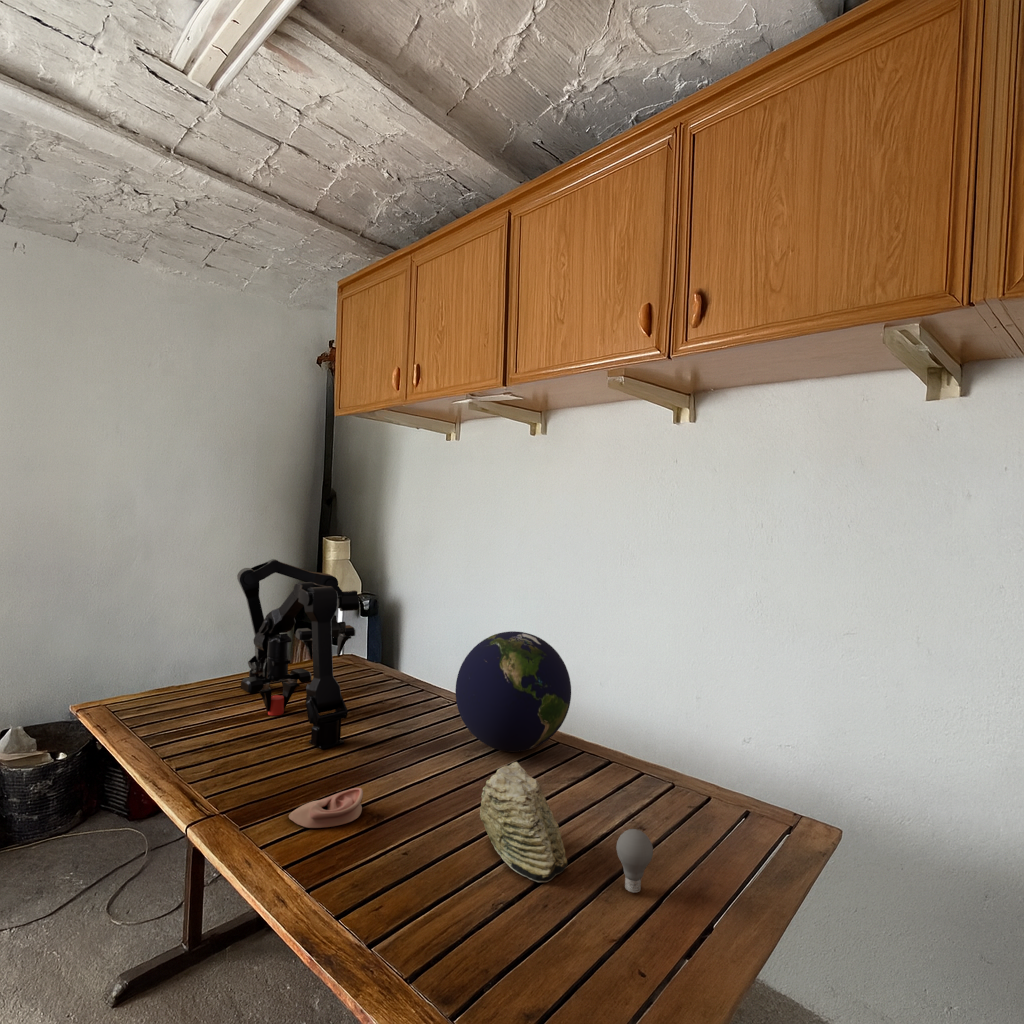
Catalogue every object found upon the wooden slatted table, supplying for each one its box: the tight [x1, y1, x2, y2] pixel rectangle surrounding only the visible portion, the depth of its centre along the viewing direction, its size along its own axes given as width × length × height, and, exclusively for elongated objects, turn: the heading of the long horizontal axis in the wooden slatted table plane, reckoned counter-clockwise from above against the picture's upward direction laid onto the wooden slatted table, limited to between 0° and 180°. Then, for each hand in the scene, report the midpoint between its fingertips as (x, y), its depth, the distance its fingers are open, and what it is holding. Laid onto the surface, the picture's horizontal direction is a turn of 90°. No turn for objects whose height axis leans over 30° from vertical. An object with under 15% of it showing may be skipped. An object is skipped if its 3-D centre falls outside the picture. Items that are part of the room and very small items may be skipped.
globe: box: [454, 630, 572, 753], centre depth 164 cm, size 30×30×30 cm
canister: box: [267, 694, 285, 717], centre depth 182 cm, size 4×4×4 cm
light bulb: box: [615, 828, 654, 894], centre depth 106 cm, size 6×6×10 cm
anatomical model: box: [288, 787, 364, 829], centre depth 126 cm, size 13×4×12 cm
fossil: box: [479, 761, 569, 883], centre depth 114 cm, size 9×18×15 cm, turn 46°
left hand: (325, 657), depth 214 cm, fingers open, 9 cm apart
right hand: (276, 709), depth 183 cm, fingers closed on canister, 4 cm apart
